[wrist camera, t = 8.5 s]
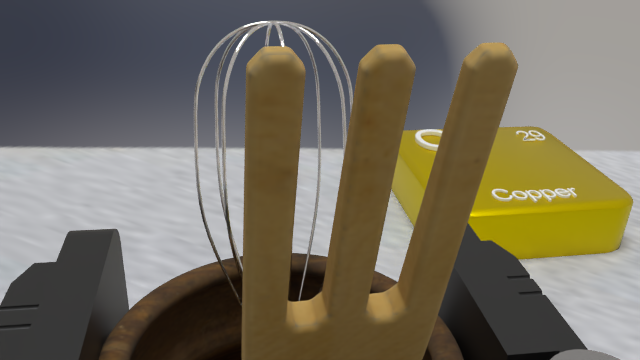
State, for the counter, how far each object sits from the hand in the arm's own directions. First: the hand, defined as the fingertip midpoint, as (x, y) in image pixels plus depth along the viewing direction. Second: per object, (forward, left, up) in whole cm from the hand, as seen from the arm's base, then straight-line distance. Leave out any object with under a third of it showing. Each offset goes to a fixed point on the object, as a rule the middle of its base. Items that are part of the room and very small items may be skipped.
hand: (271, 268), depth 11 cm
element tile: (+21, +32, -18) cm, 42 cm away
